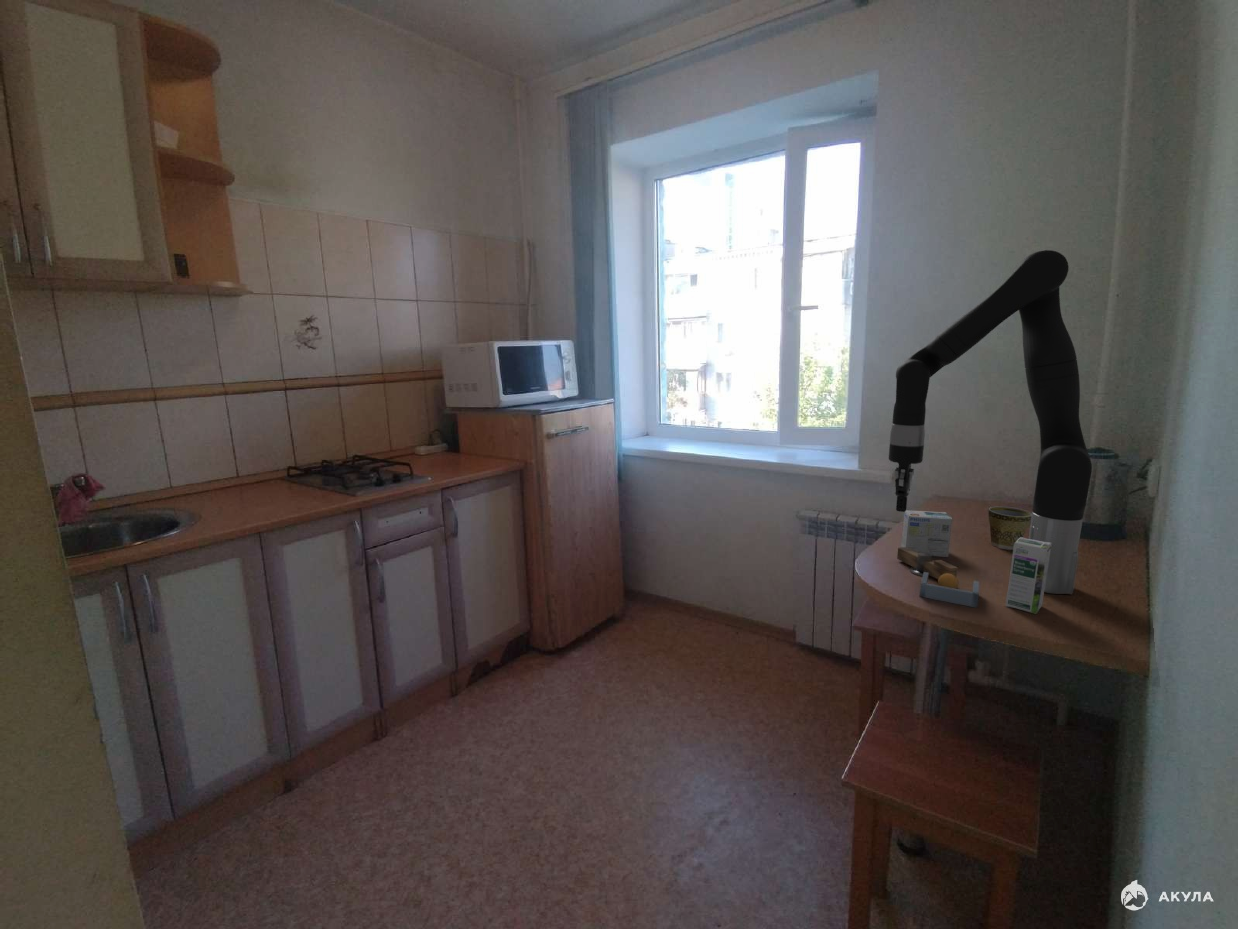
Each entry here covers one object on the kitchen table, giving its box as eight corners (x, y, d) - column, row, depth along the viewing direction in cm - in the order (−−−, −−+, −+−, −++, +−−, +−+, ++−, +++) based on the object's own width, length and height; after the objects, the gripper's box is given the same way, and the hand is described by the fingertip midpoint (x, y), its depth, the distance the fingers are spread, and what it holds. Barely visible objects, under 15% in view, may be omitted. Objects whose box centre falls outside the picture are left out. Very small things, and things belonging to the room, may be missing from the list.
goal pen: (977, 594, 130) (979, 581, 130) (977, 607, 124) (978, 594, 123) (922, 584, 136) (923, 571, 135) (919, 596, 129) (920, 583, 129)
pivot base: (937, 570, 144) (937, 569, 144) (936, 578, 139) (936, 577, 139) (910, 565, 147) (910, 564, 147) (908, 573, 142) (908, 572, 142)
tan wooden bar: (957, 583, 135) (959, 567, 134) (946, 585, 134) (948, 568, 133) (905, 557, 151) (906, 543, 150) (895, 559, 150) (896, 544, 149)
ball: (954, 573, 130) (960, 591, 129) (955, 570, 133) (961, 587, 132) (934, 576, 132) (940, 594, 131) (936, 573, 135) (942, 590, 134)
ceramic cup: (1025, 555, 154) (1031, 518, 152) (982, 547, 160) (986, 512, 158) (1028, 541, 164) (1033, 507, 162) (987, 535, 170) (991, 502, 168)
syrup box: (1004, 606, 124) (1013, 542, 121) (1011, 598, 128) (1020, 535, 125) (1036, 615, 120) (1046, 548, 117) (1042, 606, 124) (1052, 541, 121)
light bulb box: (942, 549, 159) (946, 511, 156) (949, 558, 152) (953, 518, 150) (899, 546, 161) (903, 508, 159) (904, 554, 155) (908, 515, 153)
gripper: (921, 447, 134) (915, 519, 138) (926, 439, 145) (920, 506, 149) (886, 445, 138) (881, 515, 142) (893, 437, 149) (888, 502, 153)
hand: (901, 510), depth 145 cm, fingers closed
